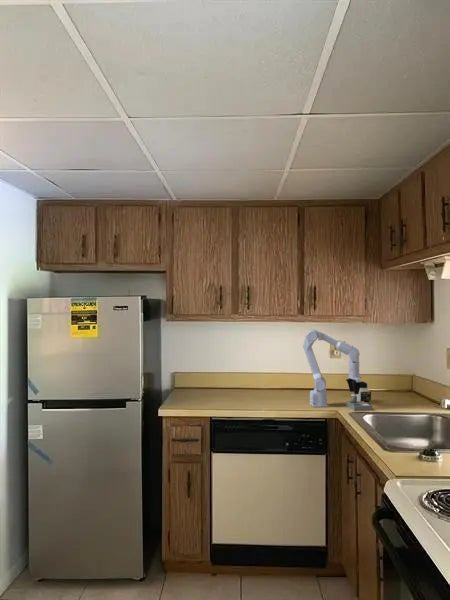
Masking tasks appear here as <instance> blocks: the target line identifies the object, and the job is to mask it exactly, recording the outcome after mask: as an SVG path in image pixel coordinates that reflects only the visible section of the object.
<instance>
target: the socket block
mask: <svg viewBox="0 0 450 600" xmlns="http://www.w3.org/2000/svg"><path fill="white" fill-rule="evenodd" d="M345 405H346V407H347V408H350V410H352V411H353V412H358V411H359V412H360V411H365V412H366V411H372V410H373V406H372V405H371V404H370V403H366V402H364V401H357V403H351V401H350V400H349V401H347V400H346V401H345Z"/></svg>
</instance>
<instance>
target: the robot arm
mask: <svg viewBox="0 0 450 600" xmlns="http://www.w3.org/2000/svg"><path fill="white" fill-rule="evenodd" d="M304 336H305V337H304V341H303V344H302V348H303V351H304V353H305V356H306V359H307V363H308V364H309V365H308V366H309V367H310V371H311V374H312V376H313V381H314V388H313V390H309V405H310V406H312V407H313V408H319V407H322V408H323V407H324V408H325V407H330V405H329V404H328V403H327V402H328V399H327V397H328V394H327V393H328V392H327V391H328V390H327V388H326V387H327V386H326V385H327V381H326V379H325V378H324V377H323V374H322V372H321V370H320V366H319V365H318V364H319V363H318V361H317V358H316V356H315V352H314V350H313V345H314V343H315V342H316V341H324V342H325V343H328V344H331V345H332V346H334V347H335V348H336V350H337V351H338V352H341V353H343V354H344V355H346V356H347V355H348V356H349V357H348V358H349V360H348V375H347V378H346V380H345V381H346V382H347V386H348V389H349V392H351V393H352V392H353V394H359V390H360V387H361V385H362V382H361V379H362V376H361V375H360V350H359V349H358V348H356V347H355V346H354V345H350V344H348V343H346V341H345V340H343V341H342V340H339V341H338V340H336V339H334V338H333V337H331V336H330V335H328V334H325V333H324V332H321V331H320V330H317V329H310V330H309V331H308V332H307V333H306V335H304ZM317 339H318V340H317Z"/></svg>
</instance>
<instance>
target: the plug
mask: <svg viewBox="0 0 450 600" xmlns="http://www.w3.org/2000/svg"><path fill="white" fill-rule="evenodd" d="M350 395H351V403H357V395H356V394H354V393H352V394H350Z"/></svg>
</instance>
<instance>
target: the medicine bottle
mask: <svg viewBox="0 0 450 600" xmlns="http://www.w3.org/2000/svg"><path fill="white" fill-rule="evenodd" d="M360 382H362V385H361V387H360V390H359V394H356V395H357V401H364V402H366V403H368V404H370V403H371V404H372V390H370V389H369V383H368V382H367V381H361V380H360Z"/></svg>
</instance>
